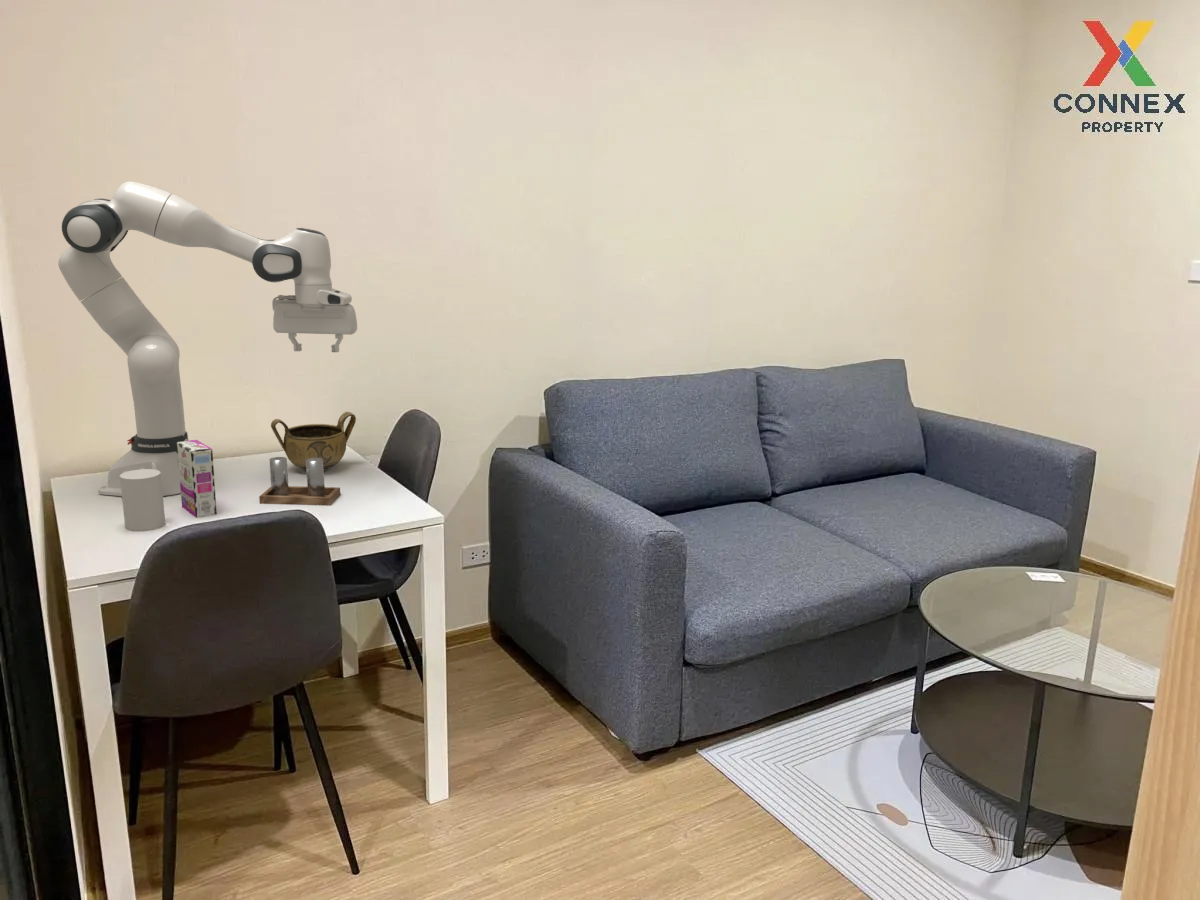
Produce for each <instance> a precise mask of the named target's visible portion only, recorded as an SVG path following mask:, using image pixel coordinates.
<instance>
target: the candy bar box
mask: <svg viewBox="0 0 1200 900" xmlns="http://www.w3.org/2000/svg"><path fill="white" fill-rule="evenodd" d="M177 450H178V463H179V475H180V488H181V493H180V497H181V508H182V509H184V510H186V511H187V512H188V513H189V514H191V515H192V516H193V517H195V519H199V518H204V517H210V516H216V515H217V514H218V512H217V500H216V487H215V470H214V469H215V468H214V455H213V454H214V453H213V448H211V447H209V446H208V445H206V444H205V443H203V442H202V441H200V440H198V439H193V440H188V441H183V442H177Z"/></svg>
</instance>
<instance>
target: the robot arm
mask: <svg viewBox="0 0 1200 900" xmlns="http://www.w3.org/2000/svg"><path fill="white" fill-rule="evenodd" d="M129 231H136V232H140V233H143V234H145V235H147V236H150V237H152V238H155V239H156V240H157V239H158V240H161V241H163V242H165V243H168V244H172V245H177V246H181V247H186V248H209V249H214V250H217V251H221V252H224V253H226V254H229V255H230V256H234V257H236V258H239V259H241V260H242V261H247V262H249V263H251V264H252V268H253V270H254V272H255V274H256V275H257V276H258V277H260V278H261V279H262V280H264V281H266V282H269V283H281V282H285V281H288V280H293V281H294V295H284V294H278V295H277V296H276V297H274V298H272V303H271V304H272V310H273V321H272V327H273V330H274V331H275V332H276V333H277V334H288V336H287V337H288V339H289V340H290V342H291V344H292V345H293V351H294V352H302V346H303V344H302V343H299V342H298V340H297V339H296V337H297V335H298V334H313V335H317V334H318V335H334V336H335V339H336V341H335V343H334V344H332V345H330V347H331V353H339V352H340V344H341V343H342V340H343V339H344V336H345V335H348V336H349V335H350V336H351V335H354V334H356V333H357V331H358V322H357V320H358V319H357V313H356V309H355V307H354V306H353V305H352V304H351V302H352V297H353V296H352V294H349V293H348V292H343V291H341V290H338V289H335V288H333V285H332V284H333V281H332V279H331V269H332V260H331V249H330V244H329V239H328V237H327V236H326V235H325V234H324V233H323V232H322V231H319V230H315V229H310V228H304V227H297V228H294V230H293V231H291V232H290V233H288V234H286V235H284V236H282V237H279V238H277V239H264V238H263V239H262V238H259V237H256V236H254V235H252V234H248V233H247V232H244V231H242V230H239V229H237V228H234V227H232V226H229V225H227V224H225V223H223V222H221V221H219V220H218V219H216V218H215V217H213V216H212V215H210V214H209V213H207V212H206V211H204V210H203V209H202V208H200V207H198V206H197V205H195V204H194V203H192V202H190V201H188V200H187V199H185V198H183V197H181V196H178V195H176V194H173V193H171V192H169V191H166V190H164V189H162V188H159V187H156V186H153V185H148V184H146V183H143V182H137V181H133V180H131V181H130V180H129V181H126V182H123V183H121V184H120V185H119V186H118V187H117V188H116V189H115V191H114V193H113V196H112V198H111V199H108V198H96V199H90V200H86V201H84V202H81V203H79V204H77V206H75V207H73V208H71V209H70V210H68V211H67V212H66V213H65V215H64V217H63V218H62V222H61V232H62V235H63V238H64V240H65V242H67V244H69V246H70V247H67V248H66V249H65V250H64V251H63V252H62V253H61V254H60V256H59V258H58V261H57V262H58V263H57V264H58V268H59V270H60V273H61V274H62V277H63V278H64V280H65V282H66V283H67V285H68V287H69V288H70V291H72V292H73V294H74V295H75V296H76V298H77V299H78V301H79V302H80V304H82V306H83V307H84V309H86V311H87V312H88V314H90V316H91V317H92V319H93V320H94V321H95V322H96V324H97V325H98V327H100V329H102V331H103V332H105V334H107V335H108V336H109V338H111V339H112V340H113V342H114V343H115V344H116V345H117V346H118V347H119V348H120V349H121V350H122V351H123V353H125V355H126V357H127V360H126V361H127V367H128V368H127V369H128V375H129V383H130V389H131V393H132V394H131V395H132V401H133V407H134V418H135V428H136V433H135V435H134V436H131V437H130V438H129V439H127V440H126V442H127V445H128V446H129V445H131V447H130V450H128V452H126V453H125V454H124V455H123V456H122V457H120V458H119V459H118V460H116V461H115V462H114V463H112V464H111V466H110V468H109V469H108V475H107V482H105V483H103V484H102V485H100V487H99V488H98V494H99V495H105V496H117V497H122V492H121V483H120V475H121V474H122V473H124V472H128V471H132V470H139V469H154V470H158V471H160V472H161V483H162V493H163V497H164V496H172V495H178V494H181V488H180V475H179V463H178V450H177V442H183V441H189V435H188V432H187V431H186V422H185V411H184V401H183V392H182V384H181V376H180V355H181V354H180V349H179V346H178V344H177V342H176V341H175V340H174V338H173V337H172V336H171V335H170V334H169V332H168V331H167V329H165V328H164V326H163V325H162V324H161V322H159V320H158V319H157V318H156V317H155V316H154V314H153V313H152V312H151V311H150V310H149V309H148V308H147V307H146V306H145V304H144V303H143V301H142V300H141V299H140V298H139V296H138V295H137V294H136V293H135V291H134V290H133V289H132V287H131V286H130V285H129V283H128V281H127V280H126V279H125V278H124V276H122V274H121V272H120V271H119V270H118V269H117V268H116V266H115V265H114V263H113V260H112V259H111V255H110V254H111V253H112V252H114V250H115V249H116V248H117V247H118V245H119V244H120V243H121V242H122V241H123V240H124V239H125V238H126V236H127V234H128V232H129Z"/></svg>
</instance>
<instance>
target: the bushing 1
mask: <svg viewBox="0 0 1200 900" xmlns="http://www.w3.org/2000/svg"><path fill="white" fill-rule="evenodd" d="M269 472H270V487H271V492H272V495H275V496H289V487H288V486H289V474H288V473H289V472H288V457H285V456H276V457H275V456H274V457H270V458H269Z"/></svg>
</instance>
